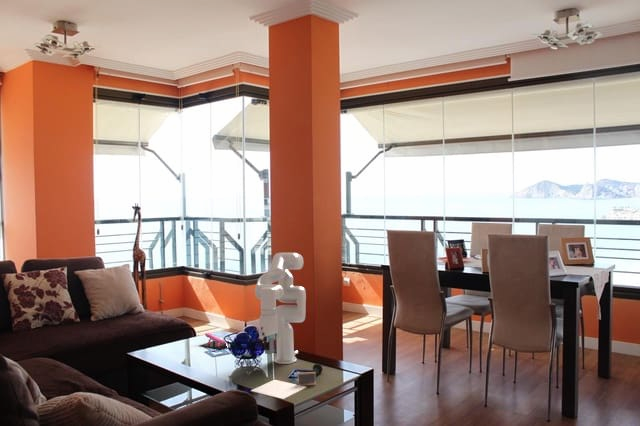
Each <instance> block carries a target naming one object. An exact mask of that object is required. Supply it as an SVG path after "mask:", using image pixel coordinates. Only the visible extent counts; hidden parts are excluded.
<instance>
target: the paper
mask: <svg viewBox="0 0 640 426" xmlns="http://www.w3.org/2000/svg"><path fill="white" fill-rule="evenodd" d="M304 389H307V386H306V385H303V386H300V385H298V384H297V383H291V382H287V381H282V380H278V379H273V380H271V381H269V382H266V383H265V384H262V385H260V386H257V387H255V388H253V389H251V390H250V392H253V393H256V394H261V395H265V396H268V397H274V398H276V399H281V400H285V399H287V398H289V397H291V396H293V395H294V394H297V393H298V392H300V391H303V390H304Z"/></svg>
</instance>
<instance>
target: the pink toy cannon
mask: <svg viewBox="0 0 640 426" xmlns="http://www.w3.org/2000/svg"><path fill="white" fill-rule="evenodd" d="M204 334H205V337H206V338H209V339H208V342H205V343H203V344H202V343H201V344H200V345H198V347H202V348H204V349H205V348H206V349H211V350H215V349H216V351H222V349H223V350H225V349H228V348H227V346H226V343H225V340H226V339H222V338H220V337H218V336H215V335H213V334H212V333H210V332H206V333H204ZM211 340H212V341H211Z"/></svg>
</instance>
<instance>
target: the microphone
mask: <svg viewBox="0 0 640 426" xmlns="http://www.w3.org/2000/svg"><path fill="white" fill-rule="evenodd" d="M311 372H316V376H317V375H318V374H322V372H323V366H322V364H320V363H315V364H314V365H313V366H312V371H311Z"/></svg>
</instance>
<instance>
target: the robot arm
mask: <svg viewBox="0 0 640 426" xmlns="http://www.w3.org/2000/svg"><path fill="white" fill-rule="evenodd" d="M304 263H305V262H304V257H303V256H302V255H301V254H300V253H298V252H277V253H275V254H274V255H273V258H272V261H271V265H270V268H269V270H267V271H266V272H264V273H262V274H261V276H259V278H258V279H257V282H256V284H255V287H254V296H255V298H257V299H258V300H260V315H259V321H258V335H259V336H258V339H260V340H262V342H263V349H264V351H265V350H269V342H268V341H269V335H273V334H274V349H275V348H276V357H275V358H274V359H273V361H274V363H276V364H280V365H291V364H294V363H295V362H297V359H298V358H297V357H296V355H298V354H299V351H298V350H295V349H294V348H295V347H294V345H295V344H294V329H293V326H292V324H290V323H303V322H304V321H305V320H306V314H307V313H306V308H307V307H306V304H307V303H306V301H307V294H306V293H307V292H306V288H305V287H303V286H300V285H294V276H293V274H292V273H291V272H290V270H291V271H292V270H295V271H296V270H302V268H303V267H304ZM276 282H277V283H278V284H274V283H276ZM277 300H278V302H280V303H285V304H280V305H278V306H277ZM291 304H292V305H291ZM265 337H266V338H265ZM275 342H276V343H275ZM275 344H276V345H275Z"/></svg>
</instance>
